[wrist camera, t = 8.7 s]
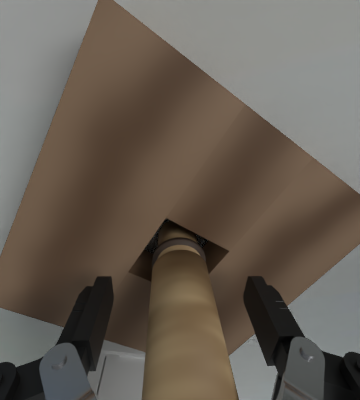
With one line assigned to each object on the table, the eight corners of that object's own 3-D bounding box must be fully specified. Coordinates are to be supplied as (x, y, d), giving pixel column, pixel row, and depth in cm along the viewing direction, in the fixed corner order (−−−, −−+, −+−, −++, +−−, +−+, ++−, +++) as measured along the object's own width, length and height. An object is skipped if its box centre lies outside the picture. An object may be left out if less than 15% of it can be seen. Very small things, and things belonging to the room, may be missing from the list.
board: (353, 198, 17) (389, 217, 14) (204, 340, 23) (209, 372, 21) (117, 17, 11) (101, -9, 8) (10, 271, 18) (-18, 302, 15)
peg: (208, 228, 17) (265, 409, 7) (183, 259, 18) (203, 450, 8) (169, 208, 16) (175, 384, 6) (146, 241, 17) (119, 435, 7)
